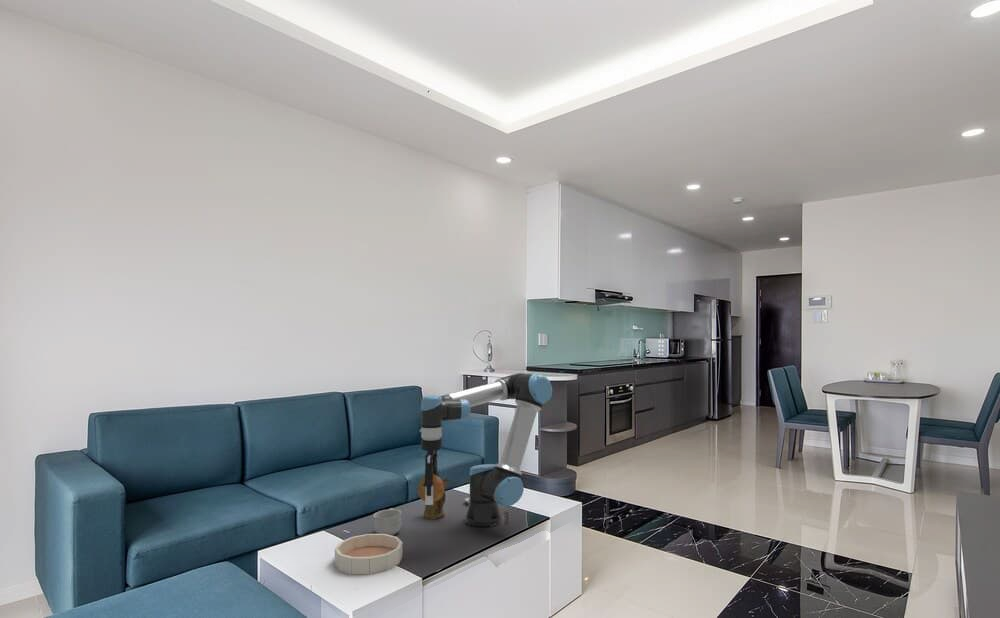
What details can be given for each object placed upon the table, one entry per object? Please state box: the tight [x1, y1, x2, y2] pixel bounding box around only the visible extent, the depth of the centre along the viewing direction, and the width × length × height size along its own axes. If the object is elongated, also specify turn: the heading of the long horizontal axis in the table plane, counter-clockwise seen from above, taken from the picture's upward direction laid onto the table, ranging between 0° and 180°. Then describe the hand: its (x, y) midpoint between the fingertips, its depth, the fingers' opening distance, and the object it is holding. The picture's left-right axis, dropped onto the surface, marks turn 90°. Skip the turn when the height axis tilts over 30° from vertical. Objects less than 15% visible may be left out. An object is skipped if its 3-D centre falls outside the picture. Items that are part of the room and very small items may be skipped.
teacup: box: [373, 507, 402, 536], centre depth 210 cm, size 14×11×8 cm
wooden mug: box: [422, 476, 451, 520], centre depth 228 cm, size 9×14×18 cm, turn 49°
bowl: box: [334, 533, 403, 575], centre depth 183 cm, size 22×22×5 cm
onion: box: [417, 474, 445, 502], centre depth 194 cm, size 10×10×10 cm
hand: (431, 500), depth 194 cm, fingers closed on onion, 10 cm apart
